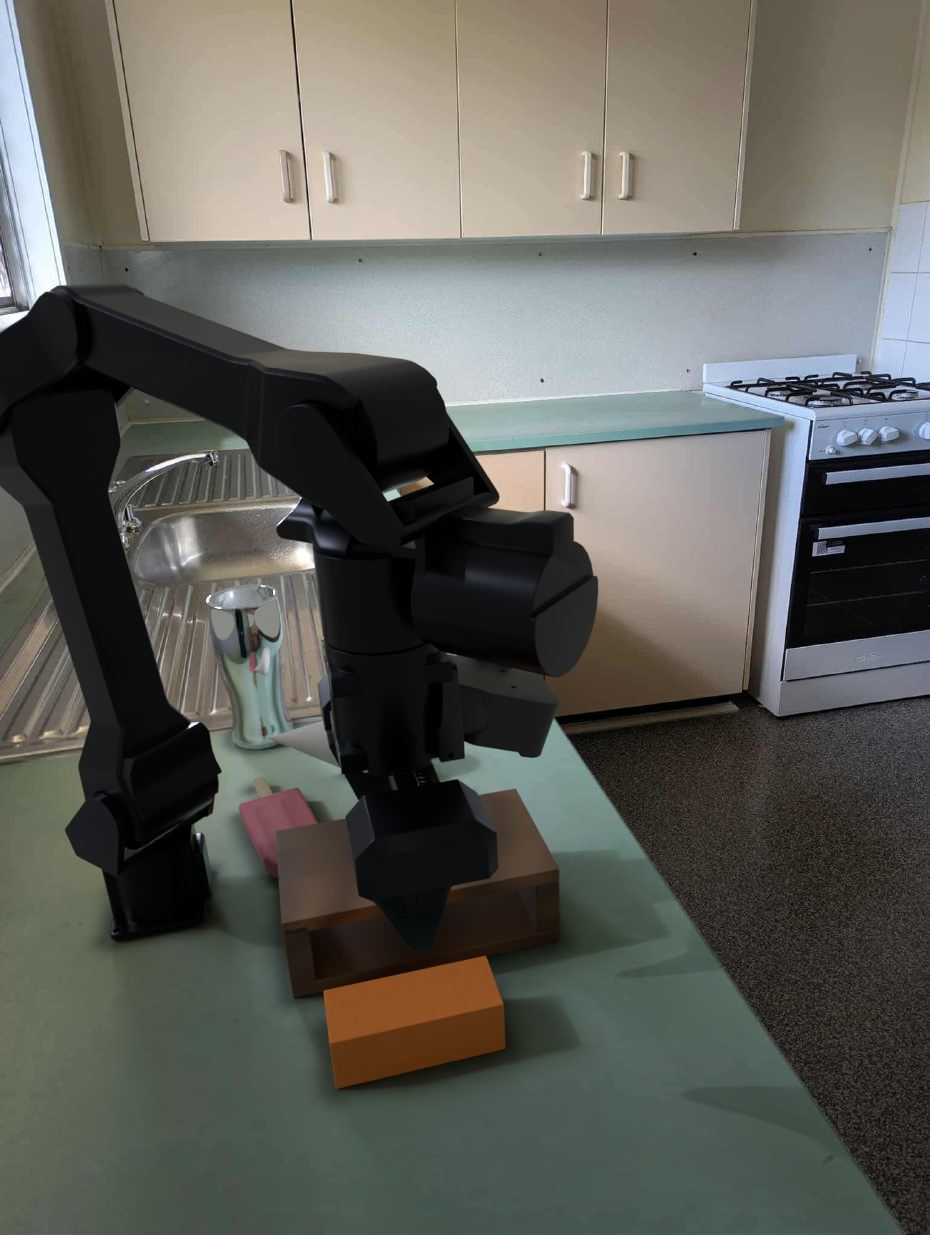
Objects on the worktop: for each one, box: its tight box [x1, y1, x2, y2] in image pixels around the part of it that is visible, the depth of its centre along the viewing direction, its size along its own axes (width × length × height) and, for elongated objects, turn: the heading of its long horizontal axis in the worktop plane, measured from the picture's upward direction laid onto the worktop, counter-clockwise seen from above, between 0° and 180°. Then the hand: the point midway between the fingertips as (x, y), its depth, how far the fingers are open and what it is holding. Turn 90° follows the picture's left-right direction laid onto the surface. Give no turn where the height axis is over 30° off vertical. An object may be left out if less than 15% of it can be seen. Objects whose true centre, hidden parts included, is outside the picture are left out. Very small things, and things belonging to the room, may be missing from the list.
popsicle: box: [238, 776, 319, 880], centre depth 73 cm, size 5×2×15 cm
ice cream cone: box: [267, 720, 341, 769], centre depth 80 cm, size 6×6×15 cm
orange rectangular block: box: [323, 956, 507, 1090], centre depth 52 cm, size 10×4×4 cm, turn 103°
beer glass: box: [206, 583, 295, 750], centre depth 86 cm, size 7×7×15 cm
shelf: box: [275, 788, 561, 999], centre depth 61 cm, size 18×10×6 cm, turn 104°
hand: (405, 891), depth 48 cm, fingers open, 9 cm apart
